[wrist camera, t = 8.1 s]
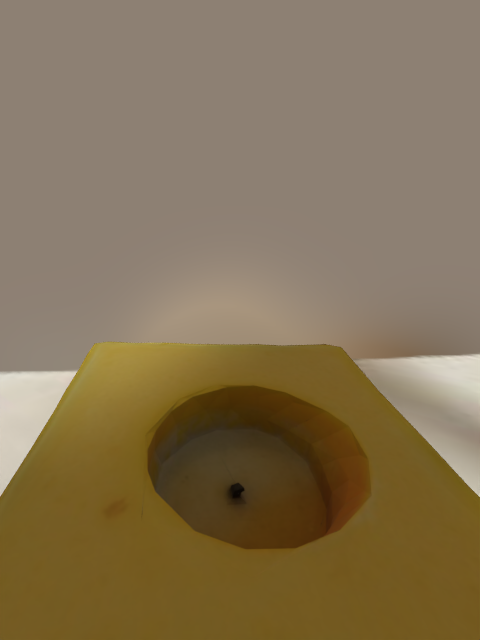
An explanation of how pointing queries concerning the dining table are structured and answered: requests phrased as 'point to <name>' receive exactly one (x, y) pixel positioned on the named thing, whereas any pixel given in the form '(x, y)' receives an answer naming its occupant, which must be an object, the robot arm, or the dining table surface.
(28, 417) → the dining table surface
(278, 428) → the candle
